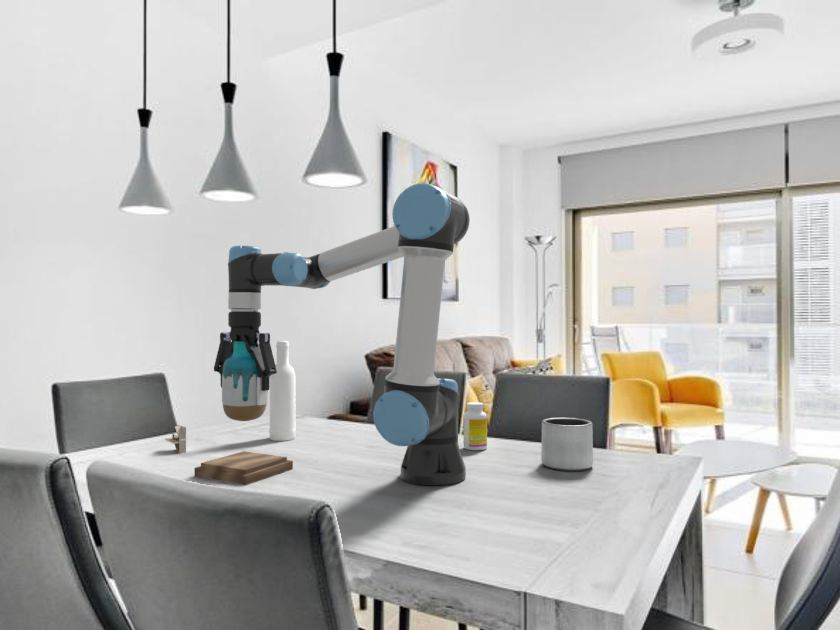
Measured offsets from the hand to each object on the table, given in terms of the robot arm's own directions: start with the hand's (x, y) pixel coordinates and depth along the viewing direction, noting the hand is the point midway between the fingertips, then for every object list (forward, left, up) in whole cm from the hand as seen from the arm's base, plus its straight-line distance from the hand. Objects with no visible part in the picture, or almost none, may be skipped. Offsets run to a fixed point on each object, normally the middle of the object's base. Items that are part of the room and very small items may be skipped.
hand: (244, 402), depth 144 cm
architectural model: (+33, -9, -17) cm, 38 cm away
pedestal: (0, 0, -17) cm, 17 cm away
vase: (0, 0, -4) cm, 4 cm away
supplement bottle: (-39, -50, -17) cm, 66 cm away
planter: (-67, -42, -17) cm, 81 cm away
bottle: (+19, -36, -17) cm, 44 cm away
